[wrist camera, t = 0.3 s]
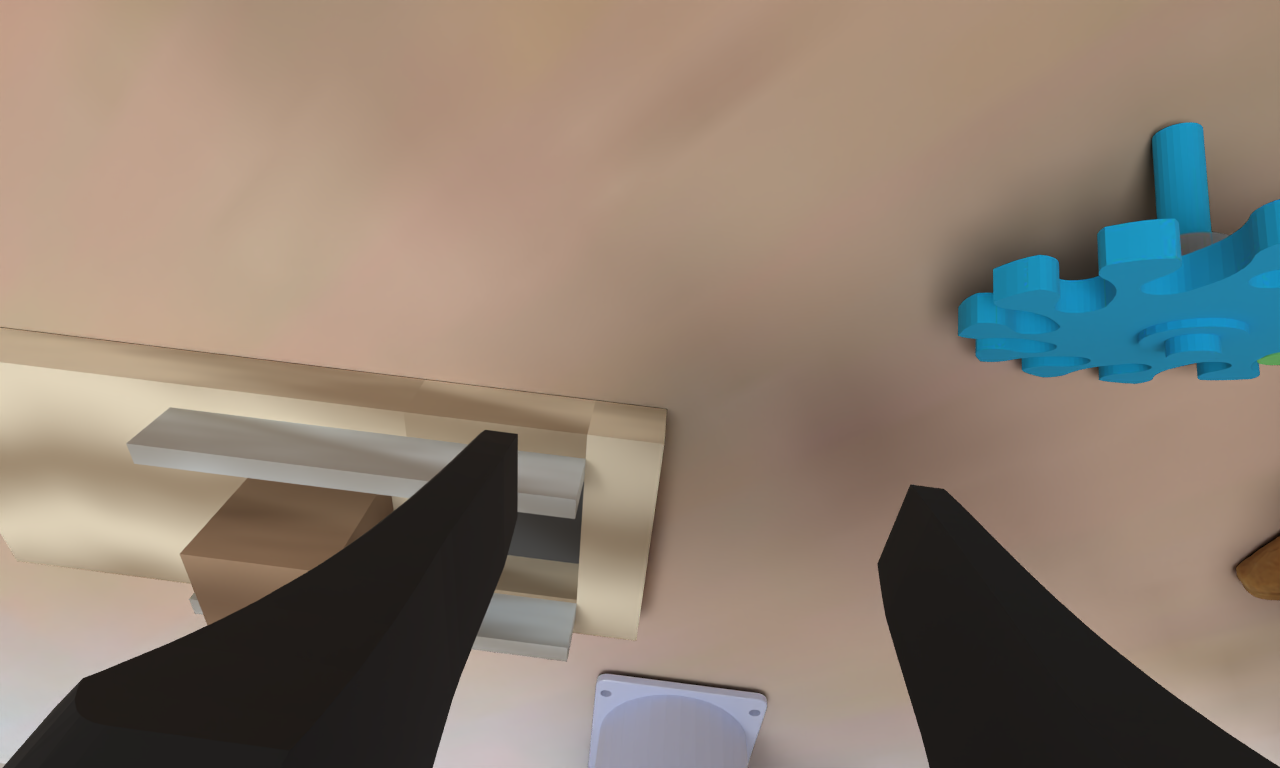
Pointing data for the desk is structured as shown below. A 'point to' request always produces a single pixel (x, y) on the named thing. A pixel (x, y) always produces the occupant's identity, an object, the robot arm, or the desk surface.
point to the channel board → (317, 468)
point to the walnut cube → (273, 540)
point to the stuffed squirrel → (1262, 572)
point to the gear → (1145, 290)
